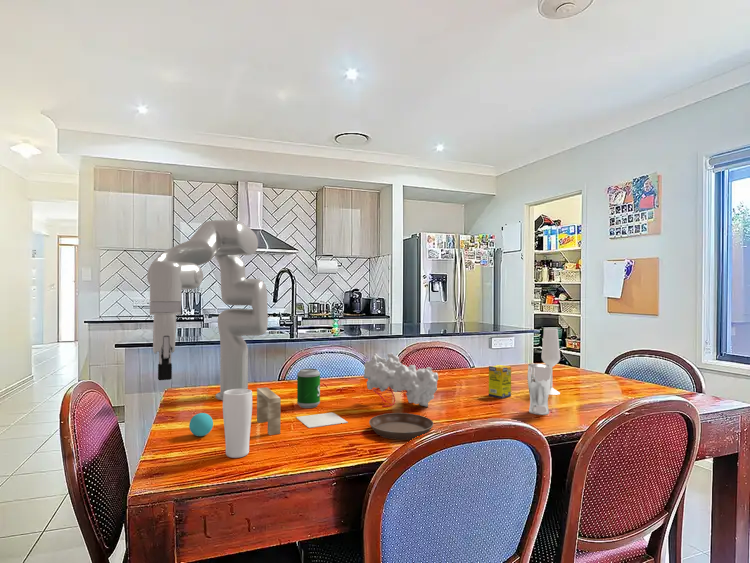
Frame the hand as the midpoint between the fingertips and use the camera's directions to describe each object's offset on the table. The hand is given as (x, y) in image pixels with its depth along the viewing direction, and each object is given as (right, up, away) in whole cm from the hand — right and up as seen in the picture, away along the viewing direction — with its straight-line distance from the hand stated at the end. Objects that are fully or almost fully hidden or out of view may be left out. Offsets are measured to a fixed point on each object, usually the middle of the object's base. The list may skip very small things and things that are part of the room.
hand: (164, 379), depth 125 cm
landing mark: (+39, -16, +19) cm, 46 cm away
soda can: (+32, -16, +36) cm, 51 cm away
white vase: (+107, -16, +28) cm, 111 cm away
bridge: (+24, -16, +12) cm, 31 cm away
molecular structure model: (+62, -16, +36) cm, 74 cm away
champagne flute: (+121, -17, +56) cm, 134 cm away
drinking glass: (+22, -16, -11) cm, 29 cm away
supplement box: (+100, -17, +50) cm, 113 cm away
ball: (+8, -13, +4) cm, 16 cm away
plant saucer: (+62, -17, +8) cm, 64 cm away
